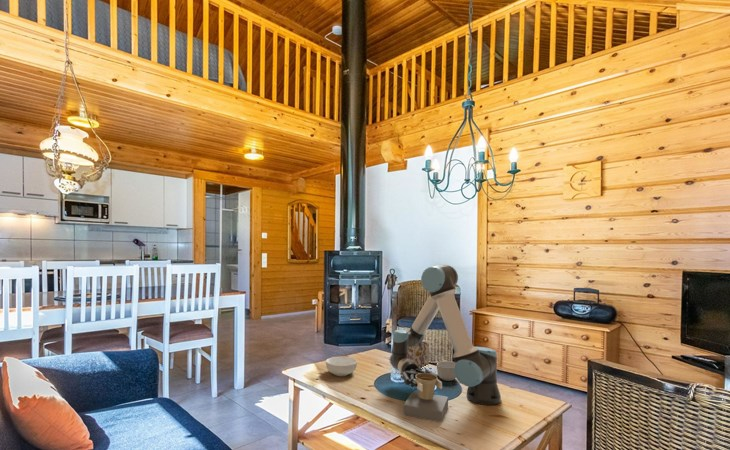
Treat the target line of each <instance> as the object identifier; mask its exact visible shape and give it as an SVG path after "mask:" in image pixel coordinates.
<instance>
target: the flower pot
mask: <svg viewBox="0 0 730 450" xmlns="http://www.w3.org/2000/svg"><path fill="white" fill-rule="evenodd" d="M436 375H437V374H436ZM436 375H433V374H430V373H419V374H416V376H415V377H416V378H415V379H416V380H417V381H419V382H420V383H421V384H423V391H420V390H419V389H418V388H417V392H418V394H419V397H420V398H422V399H426V400H428V399H432V398H433V395H435V394H434V393H435V388H436V385H435V383H436V380H437V379H438V378H437V376H436Z"/></svg>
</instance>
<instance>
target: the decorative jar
mask: <svg viewBox="0 0 730 450" xmlns="http://www.w3.org/2000/svg"><path fill="white" fill-rule="evenodd" d="M429 346H430V345H429V343H428V342H427V341H426V339H425V338H424V340H423V341H422V342H421V343H419V344H417V345H414V346H411V347H409V348H408V359H409V360H411V361H412V362H413V363H415V364H416V365H417V366H418V368H419V369H420V370H421V368H422V367H424V366H426V365H428V366H429V357H430V355H429V354H430V351H429Z"/></svg>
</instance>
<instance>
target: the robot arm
mask: <svg viewBox="0 0 730 450" xmlns="http://www.w3.org/2000/svg"><path fill="white" fill-rule="evenodd" d="M457 272H458V271H457V270H456V269H455V268H454V267H453V266H451V265H449V264H442V265H441V264H440V265H432V266H429V267H427V268H426V269H425V270H423V272H422V275H421V276H420V277H421V279H420V282H421V285H422V287H423V289H424V290H425V291H427V292H428V293H429V296H428V298H427V299H426V301H425V303H424V304H423V306H422V307H421V310H420V311H419V312H418V315H417V316H416V318H415V320H414V321H413V323H412V325H411V326H410V328H409V330H406V329H395V330H394V331H393V334H392V353H391V355H390V357H389V363H390V365H391V366H392V368H393V369H395V370H396V371H398V372H399V373H400V378H401V379H402V380H403V382H404V383H405V384H406V386H410V388H417V390H418V389H419V390H420V391H423V384H421V383H420V382H419V381H417V380H416V377H415V376H416V374H419V373H430V374H433V375H436V376H437V378H438V379H437V380H436V383H435V387H437V388H438V389H439V390H442V389H443V382H442V381H441V379H440V377H439V376H438V374H436V373H434V372H432V371H430V370H429V369H428V368H425V369H424V370H423V369H422V370H420V369H419V368H418V366H417V365H416V364H415V363H413V362H412V361H411V360H409V359H408V348H409V347H411V346H414V345H417V344H419V343H421V342H422V341H423V340H424V339H425V334H426V332H427V330H428V328H429V327H430V325H431V324H432V322H433V320H434V319H435V316H436V315H437V314H438V312H439V313H440V315H441V318H442V321H443V323H444V326H445V329H446V331H447V335H448V337H449V340H450V342H451V345H452V348H453V351H454V353H453V356H452V358H453V362H455V367H454V374H455V377H456V378H455V379H456V381H458V382H459V383H460V384H462V385H463V386H465V387H467V389H466V398H467V399H468V401H471V402H473V403H475V404H479V405H483V406H495V405H498V404H499V403H501V400H502V399H501V398H502V396H501V392H500V389H499V386H498V380H497V379H498V378H497V377H498V355H497V351H496V350H495V349H493V348H489V347H484V346H474V345H473V342H472V340H471V337H470V335H469V331H468V329H467V327H466V324H465V321H464V318H463V315H462V313H461V309H460V308H459V305H458V303H457V300H456V297H455V295H454V293H455V291H456V286H457V284H458V281H459V274H458V273H457Z"/></svg>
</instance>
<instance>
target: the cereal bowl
mask: <svg viewBox="0 0 730 450" xmlns="http://www.w3.org/2000/svg"><path fill="white" fill-rule="evenodd" d="M325 366H326V369H327V370H328V372H329V373H331V374H333V375H334V376H337V377H345V376H349V375H350V374H352V373H353V372H354V371H356V369H357V366H358V361H357V359H355V357H351V356H341V355H340V356H332V357H330V358H327V359H326V360H325Z"/></svg>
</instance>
